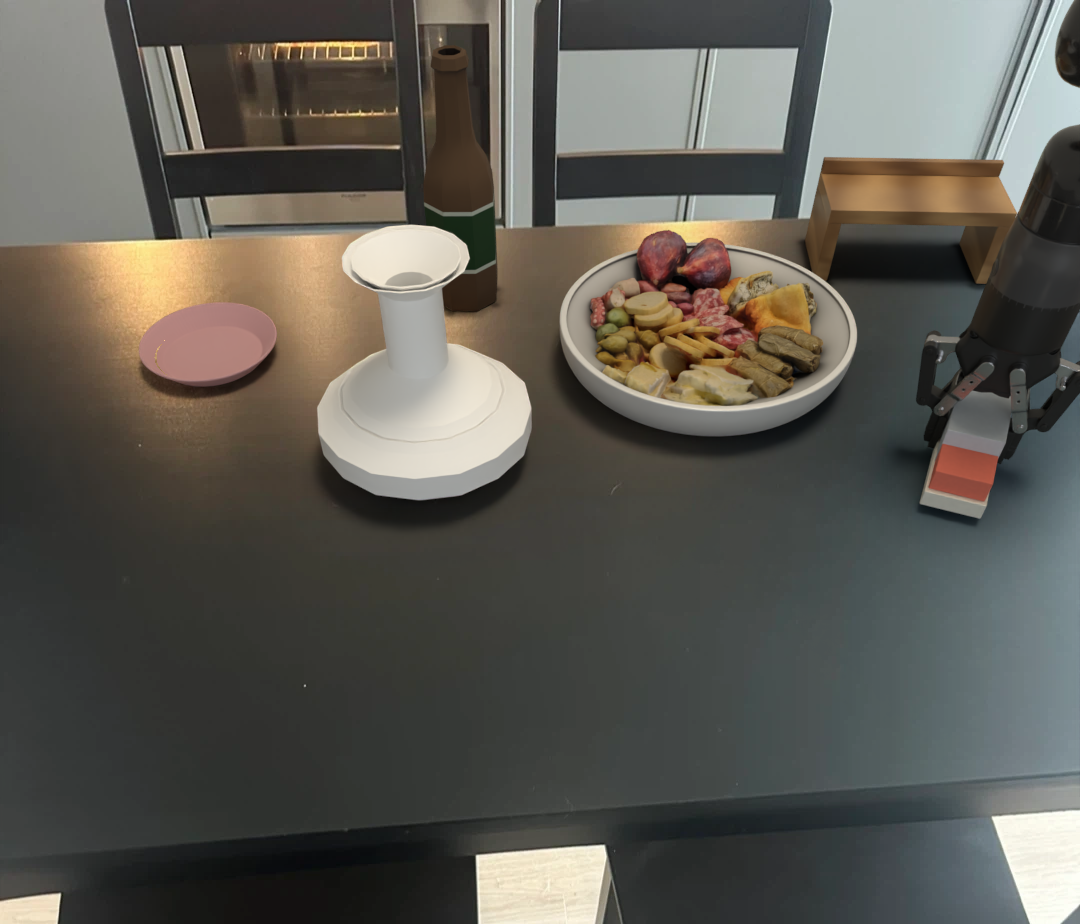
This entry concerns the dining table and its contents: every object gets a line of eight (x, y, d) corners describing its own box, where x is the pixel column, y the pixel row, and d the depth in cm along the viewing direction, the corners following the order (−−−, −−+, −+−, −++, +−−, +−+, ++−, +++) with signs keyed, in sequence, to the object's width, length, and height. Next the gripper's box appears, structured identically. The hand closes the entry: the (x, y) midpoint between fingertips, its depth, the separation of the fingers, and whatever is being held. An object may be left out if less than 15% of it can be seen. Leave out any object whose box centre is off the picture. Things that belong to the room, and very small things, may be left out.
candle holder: (357, 548, 83) (313, 353, 67) (304, 418, 94) (255, 223, 78) (564, 491, 87) (569, 295, 71) (490, 372, 98) (480, 179, 82)
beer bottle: (420, 305, 105) (392, 59, 86) (450, 271, 109) (430, 29, 90) (483, 319, 104) (468, 72, 84) (511, 284, 108) (503, 41, 88)
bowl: (900, 414, 94) (927, 343, 87) (625, 483, 88) (631, 412, 81) (760, 264, 110) (773, 195, 103) (520, 315, 104) (518, 245, 98)
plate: (298, 374, 98) (293, 357, 96) (162, 412, 94) (155, 395, 93) (259, 306, 105) (255, 289, 104) (132, 339, 102) (125, 322, 100)
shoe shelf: (971, 243, 113) (1003, 159, 105) (988, 284, 107) (1023, 198, 100) (804, 240, 113) (823, 156, 105) (813, 280, 108) (834, 195, 100)
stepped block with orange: (940, 420, 92) (958, 375, 88) (997, 433, 90) (1018, 388, 86) (919, 504, 85) (937, 459, 81) (980, 519, 84) (1002, 474, 79)
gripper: (1138, 272, 75) (1047, 445, 89) (955, 239, 78) (894, 410, 92) (1134, 322, 71) (1039, 494, 85) (941, 284, 74) (880, 456, 88)
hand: (964, 450), depth 88 cm, fingers closed on stepped block with orange, 5 cm apart
